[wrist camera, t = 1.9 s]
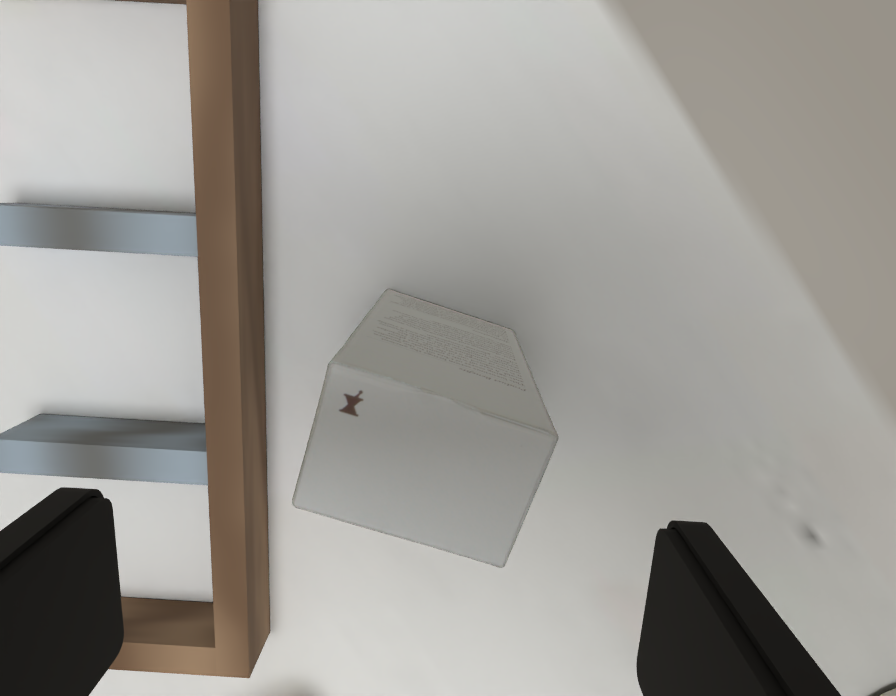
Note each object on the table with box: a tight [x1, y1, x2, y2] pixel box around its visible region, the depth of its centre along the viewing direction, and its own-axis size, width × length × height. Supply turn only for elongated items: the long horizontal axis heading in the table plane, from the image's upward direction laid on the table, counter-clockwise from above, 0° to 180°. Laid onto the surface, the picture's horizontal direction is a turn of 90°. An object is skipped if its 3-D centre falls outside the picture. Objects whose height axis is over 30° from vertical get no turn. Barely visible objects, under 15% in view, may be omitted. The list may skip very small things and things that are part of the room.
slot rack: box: [0, 0, 270, 678], centre depth 25 cm, size 10×30×3 cm, turn 177°
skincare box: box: [292, 289, 558, 568], centre depth 21 cm, size 6×4×12 cm
